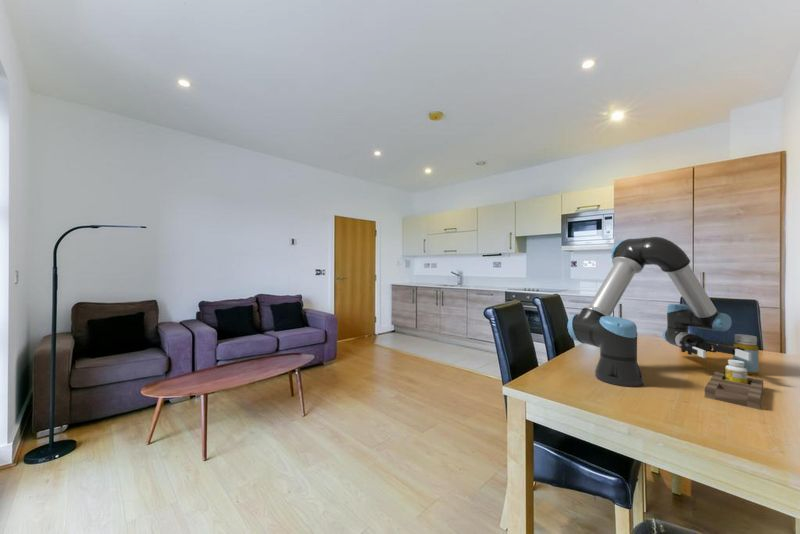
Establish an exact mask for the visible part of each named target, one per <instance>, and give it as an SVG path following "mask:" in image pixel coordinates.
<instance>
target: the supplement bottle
mask: <svg viewBox="0 0 800 534" xmlns="http://www.w3.org/2000/svg"><path fill="white" fill-rule="evenodd" d="M727 364H728V365H725V367H724V368H725V372H724V373H725V376H726V380H728V381H734V382H739V383H744V384H748V383H747V377H748V374H747V369H746V368H744V366H745V365H744V362H743V361H738V360H733V359H728V360H727Z"/></svg>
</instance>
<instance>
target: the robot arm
mask: <svg viewBox="0 0 800 534" xmlns="http://www.w3.org/2000/svg"><path fill="white" fill-rule="evenodd" d="M610 253H611V255H610V258H611V263H612V267H611V268H610V271H609V272H608V273H607V275H606V277H605V278H604V280H603V282H602V283H601V285H600V287H599V288H598V291H597V292H596V293H595V295H594V296H593V299H592V301H590V304H589V305H588V306H585V307H583V308H582V309H581V311H580V312H579V314H577V313H576V314H572V315H571V316H570V317H569V319H568V321H567V326H566V327H567V330H568V331H567V332H568V334H569V336H570V337H571V339H573V340H575V341H576V342H579V343H581V344H585V345H590V346H593V347H598V348H599V351H600V352H599V353H600V357H599V359H598V362H597V365H596V367H595V370H594V376H596V377H597V378H596V377H595V378H596V379H598V380H599V379H600V380H599V381H601V380H602V382H604V381H605V383H607V382H608V383H607V384H612V385H616V386H621V387H641V386H643V385H644V376H643V374H642V371H641V368H640V366H639V363H638V330H637V329H638V328H637V324H636V323H635V322H634V321H632V320H630V319H628V318H623V317H618V316H612V314H613V312H614V310H615V309H616V306H617V305H618V303H619V302H620V300H621V298H622V296H623V295H624V293H625V291H626V290H627V288H628V286H629V285H630V283H631V281H632V280H633V277H634V276H635V275H636V274H639V273H642V270H643V269H644V267H645V266H647V265H650V266H651V265H655V266H658V267H659V268H660V269H661V271H662V272H664V273H667V275H668V276H669V278H670V279H671V281H672V282H673V284H674V286H675V287H676V289H677V290H678V292H679V293H680V295H681V296H682V298H683V300H684V301H685V302H686V304H680V303H670V304H668V305H667V308H666V309H667V310H666V316H667V318H666V321H667V324H666V325H667V327H666V329H664V331H663V333H662V337H663V339H664V341H666V342H667V343H669V344H670V345H673V346H675V347H677V348H678V347H679V348H680V349H681V350H680V351H681V352H682V353H685V352H687V355H689V356H692V355H696V356H698V357H700V358H703V359H706V358H707V356H706V355H707V353H706V352H710V353H722V354H727V355H731V356H733V355H735V356H737V357H740V358H743V359H746V360H748V361H751V353H749V352H745V349H743V348H740V347H733V345H731V346H730V345H726V344H722V343H718V342H716V343H713V342H709V341H706V340H705V338H703V337H702V336H700V335H696V334H693V333H690V331H689V330H690V329H689V327H691V328H692V327H693V328H697V329H704V330H709V331H710V330H711V331H715V332H716V331H717V332H726V331H729V329H730V328H731V327H732V317H731V316H730V315H729V314H727V313H725V312H724V313H723V312H719V311H718V309H717V308H716V307H715V305H714V303H713V302H712V300H711V298H710V296H709V295H708V293H707V292H706V290H705V288H704V287H703V285H702V284H701V282H700V281H699V279H698V277H697V276H696V274H695V272H694V270H693V269H692V267H691V266H690V264H691V259H690V258H689V256H688V254H687V253H686V252H685V251H684V250H683V249H682V248H681V247H679V246H678V245H677V244H675V242H673V241H671V240H670V239H667V238H664V237H660V236H650V237H639V238H626V239H622V240H619V241H618V242H616V243H615V244H614V245H613V247H612V248H611V251H610Z"/></svg>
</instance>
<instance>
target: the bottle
mask: <svg viewBox="0 0 800 534" xmlns="http://www.w3.org/2000/svg"><path fill="white" fill-rule="evenodd" d="M733 336H734V343H733V345H732V347H740V348H743V349H745V352H749V353H751V361H748V360H746V359H743V358H740V357H737V356H735V355H732V360H738V361H743V362H744V365H745V366H744V368H746V369H747V375H750V374H752V375H754V376H756V375H758V374H760V373H759V371H760V369H759V368H760V367H759V366H760V362H759V361H760V358H759V356H760V355H759V354H760V352H759V350H760V349H759V347H758V344H757V343H758V337H757V336H755V335H750V334H742V333H737V334H736V333H735V334H734V335H733ZM752 375H751V376H752Z"/></svg>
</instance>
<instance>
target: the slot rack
mask: <svg viewBox="0 0 800 534" xmlns="http://www.w3.org/2000/svg"><path fill="white" fill-rule="evenodd" d="M747 383H748V384H744V383H739V382H734V381H728V380H726V376H725V372H720V371H714V373H713V375H712V376H711V378H710V379H709V381H708V382H707V383H706V386H705V387H704V398H707V399H711V400H712V399H713V400H717V401H720V402H725V403H730V404H734V405H737V406H742V407H748V408H749V409H750V408H752V409H756V410H760V409H761V403H762V400H763V399H762V398H763V394H764V379H759V378H755V377H754V378H753V377H748V376H747Z"/></svg>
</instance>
